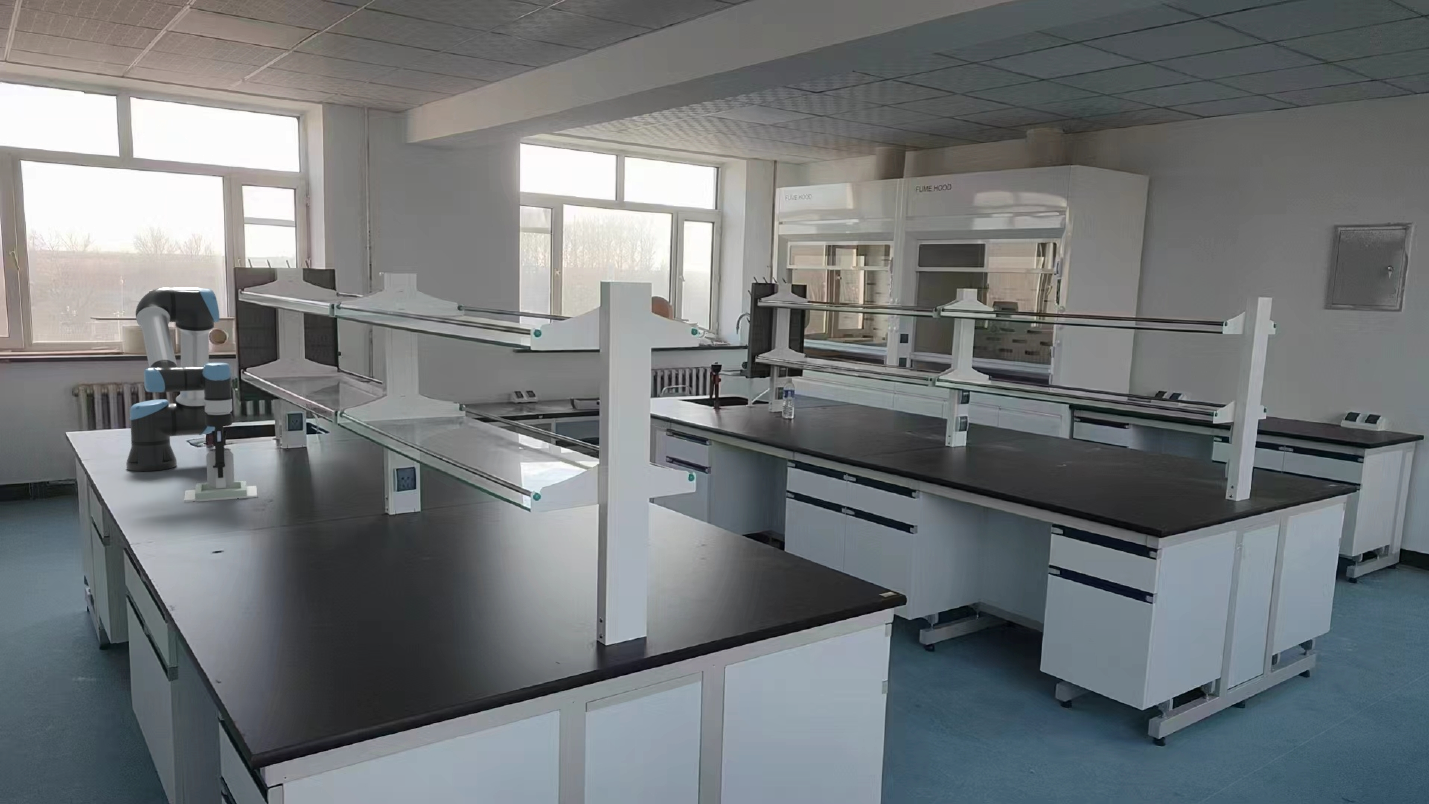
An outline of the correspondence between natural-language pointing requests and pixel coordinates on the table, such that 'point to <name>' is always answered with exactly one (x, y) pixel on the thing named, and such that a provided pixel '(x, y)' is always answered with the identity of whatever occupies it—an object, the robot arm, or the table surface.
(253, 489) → the green and white tray
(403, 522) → the table surface
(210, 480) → the can
